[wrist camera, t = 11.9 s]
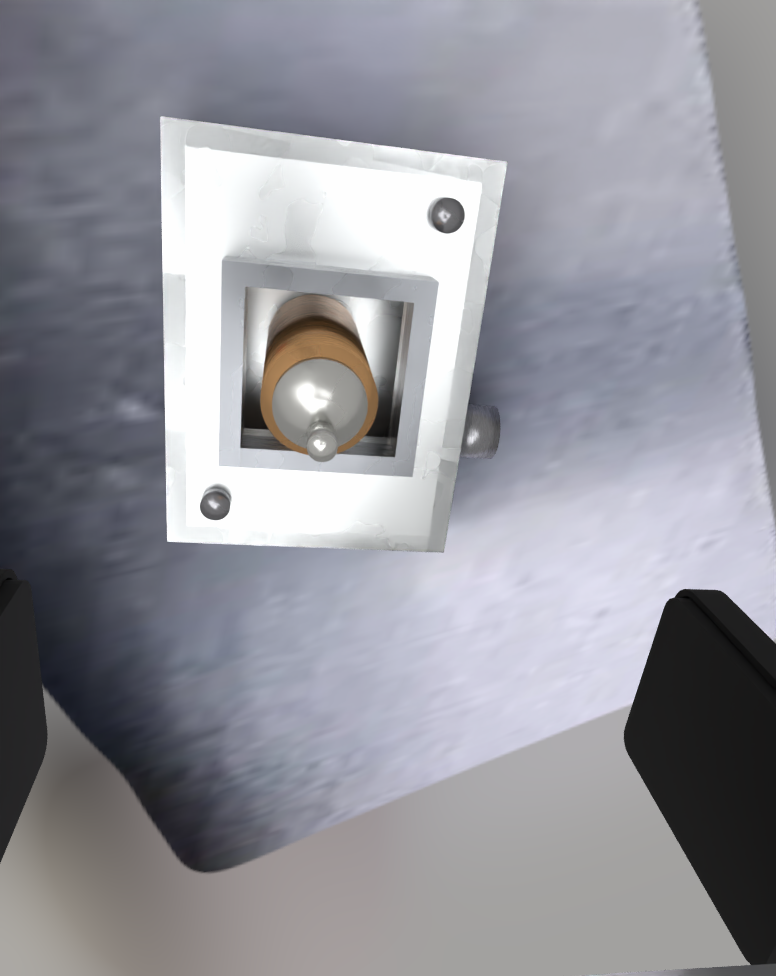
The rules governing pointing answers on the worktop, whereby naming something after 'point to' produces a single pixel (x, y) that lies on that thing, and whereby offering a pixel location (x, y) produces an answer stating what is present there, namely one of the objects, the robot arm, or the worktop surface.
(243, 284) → the plate
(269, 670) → the worktop surface
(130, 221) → the worktop surface
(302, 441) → the spout can
